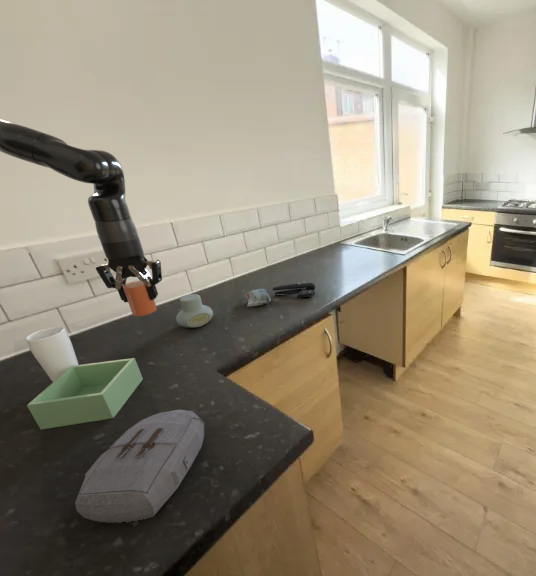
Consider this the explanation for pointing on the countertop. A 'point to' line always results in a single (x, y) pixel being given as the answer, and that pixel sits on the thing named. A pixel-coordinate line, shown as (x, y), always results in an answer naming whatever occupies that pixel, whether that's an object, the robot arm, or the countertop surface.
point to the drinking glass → (52, 350)
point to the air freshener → (193, 312)
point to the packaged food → (257, 297)
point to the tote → (86, 393)
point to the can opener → (297, 289)
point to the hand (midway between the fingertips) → (140, 299)
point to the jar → (139, 298)
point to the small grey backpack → (141, 468)
